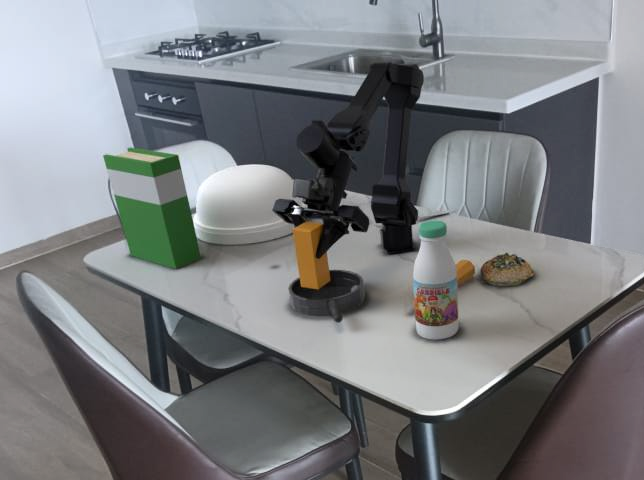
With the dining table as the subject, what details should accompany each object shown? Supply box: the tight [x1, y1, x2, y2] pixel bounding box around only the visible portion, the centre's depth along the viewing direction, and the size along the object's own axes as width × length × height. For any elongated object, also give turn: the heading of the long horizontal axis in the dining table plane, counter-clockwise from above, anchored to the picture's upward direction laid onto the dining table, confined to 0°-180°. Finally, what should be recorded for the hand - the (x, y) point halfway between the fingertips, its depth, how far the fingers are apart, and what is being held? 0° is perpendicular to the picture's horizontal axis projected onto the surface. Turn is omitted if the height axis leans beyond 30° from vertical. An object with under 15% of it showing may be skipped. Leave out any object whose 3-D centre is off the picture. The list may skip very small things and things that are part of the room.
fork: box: [373, 208, 458, 229], centre depth 184 cm, size 3×24×2 cm, turn 122°
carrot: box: [455, 259, 476, 288], centre depth 146 cm, size 20×4×4 cm, turn 142°
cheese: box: [292, 221, 330, 289], centre depth 139 cm, size 4×4×12 cm
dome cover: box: [192, 163, 308, 246], centre depth 189 cm, size 32×30×14 cm
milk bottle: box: [412, 220, 459, 340], centre depth 128 cm, size 8×8×20 cm
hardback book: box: [102, 147, 202, 270], centre depth 170 cm, size 18×7×24 cm, turn 52°
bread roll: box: [480, 252, 535, 287], centre depth 150 cm, size 11×11×5 cm
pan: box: [288, 269, 366, 317], centre depth 146 cm, size 15×15×4 cm
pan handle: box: [328, 299, 344, 324], centre depth 137 cm, size 9×2×2 cm, turn 13°
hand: (307, 256), depth 138 cm, fingers closed on cheese, 4 cm apart
